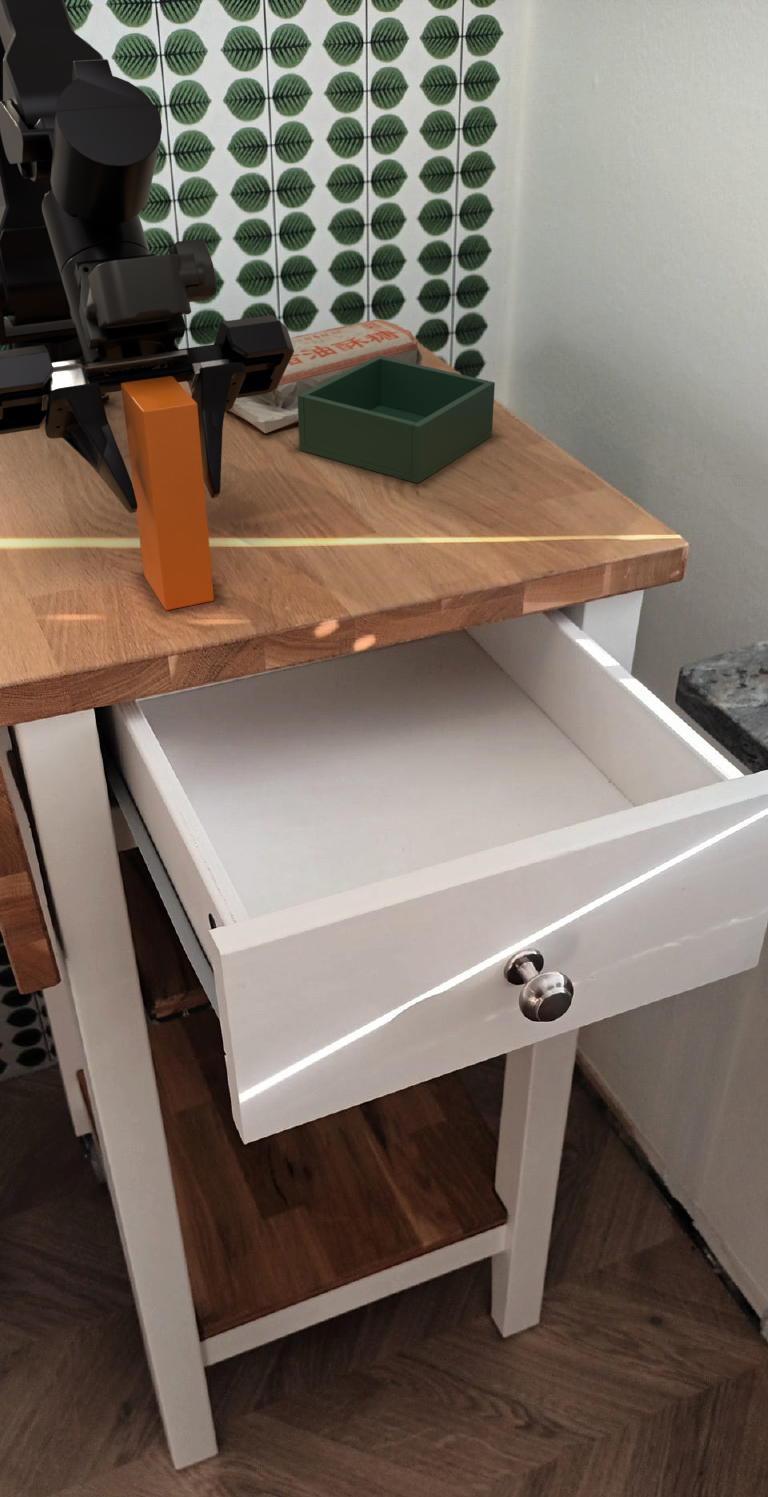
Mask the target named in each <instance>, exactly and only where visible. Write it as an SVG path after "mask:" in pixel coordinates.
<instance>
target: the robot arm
mask: <svg viewBox="0 0 768 1497" xmlns="http://www.w3.org/2000/svg"><path fill="white" fill-rule="evenodd" d="M162 130H163V124H162V117H161V113H160V111H159V108H158V106H156V105H155V104H154V103H153V102H152V101H151V99H150V98H149V96H147V94H146V93H145V92H143V91H142V89H140V88H139V87H137V86H136V85H134V84H133V83H131V82H130V81H128V80H126V79H123V78H120V77H118V76H114V75H113V72H112V68H111V65H110V62H109V60H108V59H107V58H104V56H103V55H102V54H101V52H99V50H97V49H95V48H94V47H93V46H92V45H90V44H89V43H88V42H87V41H86V40H84V39H83V38H82V37H81V36H80V35H78V34H77V33H76V31H75V29H74V27H73V24H72V21H71V18H70V14H69V12H68V9H67V5H66V2H65V0H0V347H5V346H8V349H3V350H0V435H7V434H13V433H20V432H28V431H33V430H40V429H41V427H42V426H43V424H44V422H45V424H44V432H45V435H46V437H47V438H48V439H51V440H52V439H54V440H56V439H63V440H64V441H65V442H66V443H67V444H68V445H70V447H71V448H72V449H74V451H75V452H77V453H78V454H79V455H80V456H81V458H83V459H84V460H85V462H87V463H88V464H89V465H90V466H91V467H92V468H93V470H94V471H95V472H96V473H97V475H99V477H100V478H101V479H102V481H103V482H104V483H105V484H106V486H107V487H108V488H109V489H110V491H111V492H112V494H114V496H115V497H116V499H118V501H119V502H120V503H121V504H122V506H123V507H124V508H125V509H126V510H127V512H128V513H129V514H136V513H137V512H136V511H137V501H136V497H135V493H134V488H133V481H132V479H131V477H130V474H129V471H128V468H127V466H126V464H125V460H124V459H123V456H122V453H121V451H120V448H119V446H118V443H117V441H116V438H115V435H114V433H113V430H112V428H111V424H110V423H109V420H108V416H107V413H106V408H105V404H104V403H106V402H108V401H109V400H110V394H109V393H115V392H122V389H121V383H126V382H133V381H140V380H146V379H153V378H160V377H167V376H173V377H174V379H175V380H176V381H177V382H178V383H184V382H187V383H188V387H189V390H190V393H191V397H192V398H193V400H194V401H195V402H196V403H197V408H198V420H199V432H200V443H201V455H202V467H203V478H204V485H205V486H206V489H207V491H208V494H209V495H210V498H211V499H218V497H219V495H220V493H221V483H222V481H221V480H222V479H221V478H222V456H223V453H222V452H223V428H224V421H225V420H224V419H225V413H226V412H228V411H229V410H230V409H232V407H233V405H234V403H235V401H236V398H242V397H248V396H255V395H261V394H267V393H269V392H271V391H273V390H275V389H277V387H278V385H279V382H280V380H281V378H282V376H283V374H284V372H285V370H286V368H287V365H288V363H289V361H290V359H291V357H292V355H293V353H294V349H293V346H292V342H291V339H290V338H291V336H290V333H289V330H288V327H287V326H286V325H285V324H284V323H283V322H281V321H280V320H279V319H278V318H277V317H276V316H274V315H273V314H270V315H262V316H254V317H247V318H238V319H232V320H223V321H221V322H220V324H219V328H218V330H217V333H216V336H215V339H214V342H213V344H206V345H199V346H193V347H184V348H179V345H178V341H177V339H179V338H184V336H185V333H186V330H187V324H186V321H185V318H184V315H185V316H187V315H190V314H191V313H192V307H191V303H193V302H201V301H208V300H209V299H211V298H212V297H213V296H215V295H216V293H217V290H218V288H217V287H218V284H217V277H216V273H215V266H214V263H213V260H212V257H211V254H210V251H209V248H208V245H207V242H206V240H205V238H197V239H188V240H180V241H175V243H174V245H172V246H171V247H170V248H169V252H168V253H169V254H160V255H156V254H155V253H151V250H150V248H149V245H148V241H147V237H146V234H145V231H144V228H143V225H142V221H141V218H140V213H141V212H142V211H145V210H146V209H147V206H148V203H149V198H150V193H151V188H152V182H153V178H154V173H155V169H156V163H157V157H158V152H159V148H160V145H161V144H160V142H161V139H162ZM5 318H8V319H5Z"/></svg>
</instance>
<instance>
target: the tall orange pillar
mask: <svg viewBox="0 0 768 1497" xmlns="http://www.w3.org/2000/svg"><path fill="white" fill-rule="evenodd" d="M121 389H122V391H121V397H122V403H123V405H122V406H123V413H124V421H125V428H126V437H127V445H128V446H127V447H128V454H129V461H130V472H131V478H132V479H131V480H132V485H133V489H134V493H135V497H136V501H137V511H136V512H135V513H136V520H137V527H138V536H139V546H140V552H141V560H142V569H143V576H144V578H145V579H146V581H147V582H148V584H149V586H150V588H151V589H152V591H153V593H154V594H155V595H156V597H157V599H158V600H159V602H160V604H161V605H162V607H163V608H164V610H165V611H171V610H175V609H180V608H181V609H182V608H185V607H189V606H190V607H191V606H194V605H199V604H204V603H208V602H214V600H215V597H214V584H213V573H212V560H211V550H210V537H209V527H208V526H209V525H208V515H207V505H206V504H207V502H206V493H205V492H206V490H205V482H204V478H203V467H202V455H201V443H200V432H199V420H198V408H197V403H196V402H195V401H194V400H193V398H192V395H190V394H189V393H188V392H187V391H186V389H185V388H184V387H183V386H182V385H181V384H180V382H177V381H176V380H175V379H174V377H173V376H167V377H160V378H153V379H146V380H140V381H133V382H126V383H121Z"/></svg>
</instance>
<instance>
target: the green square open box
mask: <svg viewBox="0 0 768 1497" xmlns="http://www.w3.org/2000/svg"><path fill="white" fill-rule="evenodd" d="M495 386H496V382H494V381H490V380H487V379H483V378H478V377H475V376H474V377H473V376H469V375H465V374H460V373H457V372H452V371H448V370H443V369H440V368H439V369H438V368H435V367H431V366H426V365H422V364H421V365H418V364H413V363H409V362H405V361H401V360H396V359H392V358H388V357H383V356H376V357H374V358H372V359H370V360H368V361H366V362H364V363H362V364H360V365H358V366H356V367H354V368H352V369H350V370H348V371H346V372H344V373H342V374H340V375H338V376H336V377H334V378H332V379H330V380H328V381H326V382H324V383H322V384H320V385H318V386H316V387H313V388H311V389H309V390H307V391H305V392H303V393H301V394H299V395H298V422H297V423H298V446H299V448H298V449H299V451H302V452H305V453H308V454H312V455H315V456H319V457H322V458H326V459H329V460H332V461H337V462H340V463H342V464H343V463H344V464H347V465H351V466H354V467H358V468H362V469H365V470H368V471H372V472H375V473H380V474H383V475H387V476H390V477H394V478H397V479H401V480H404V481H407V482H411V483H415V484H420V483H421V482H423V481H424V480H426V479H427V478H429V477H430V476H432V475H433V474H435V473H437V472H439V471H440V470H441V469H443V468H444V467H446V466H448V465H449V464H451V463H452V462H454V461H455V460H457V459H459V458H460V457H462V456H464V455H465V454H467V453H468V452H469V451H471V450H473V449H474V448H476V447H477V446H479V445H480V444H482V443H483V442H485V441H487V440H489V439H490V438H492V436H493V424H494V423H493V421H494V407H495V406H494V405H495V404H494V403H495V390H496V389H495V388H496V387H495Z"/></svg>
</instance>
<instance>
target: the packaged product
mask: <svg viewBox="0 0 768 1497" xmlns="http://www.w3.org/2000/svg"><path fill="white" fill-rule="evenodd" d="M290 339H291V342H292V346H293V349H294V353H293V355H292V357H291V359H290V361H289V363H288V365H287V368H286V370H285V372H284V374H283V376H282V378H281V380H280V382H279V385H278V387H277V389H275V390H273V391H271V392H269V393H267V394H261V395H255V396H248V397H242V398H236V401H235V403H234V405H233V407H232V409H230V410H228V411H230V412H231V413H233V414H234V415H237V417H240V418H241V419H243V420H246V422H249V424H252V425H253V426H254V427H256V428H257V429H259V430H260V431H261V432H262V433H264V434H267V433H270V432H274V431H276V430H279V429H282V428H285V427H288V426H290V425H293V424H297V423H299V422H298V395H299V394H301V393H303V392H305V391H307V390H309V389H311V388H313V387H316V386H318V385H320V384H322V383H324V382H326V381H328V380H330V379H332V378H334V377H336V376H338V375H340V374H342V373H344V372H346V371H348V370H350V369H352V368H354V367H356V366H358V365H360V364H362V363H364V362H366V361H368V360H370V359H372V358H374V357H376V356H383V357H388V358H392V359H396V360H401V361H405V362H409V363H413V364H418V365H422V362H423V361H422V360H423V354H422V352H421V350H420V348H419V346H418V340H417V339H416V337H415V336H414V335H413V332H412V331H410V330H409V329H405V328H404V327H401V326H398V325H396V324H394V323H392V322H391V321H386V320H384V319H373V320H365V321H363V322H357V323H354V324H349V325H343V326H340V327H339V326H338V327H334V328H328V329H324V330H321V331H315V332H313V333H307V334H303V335H299V336H293V337H290Z"/></svg>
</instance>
